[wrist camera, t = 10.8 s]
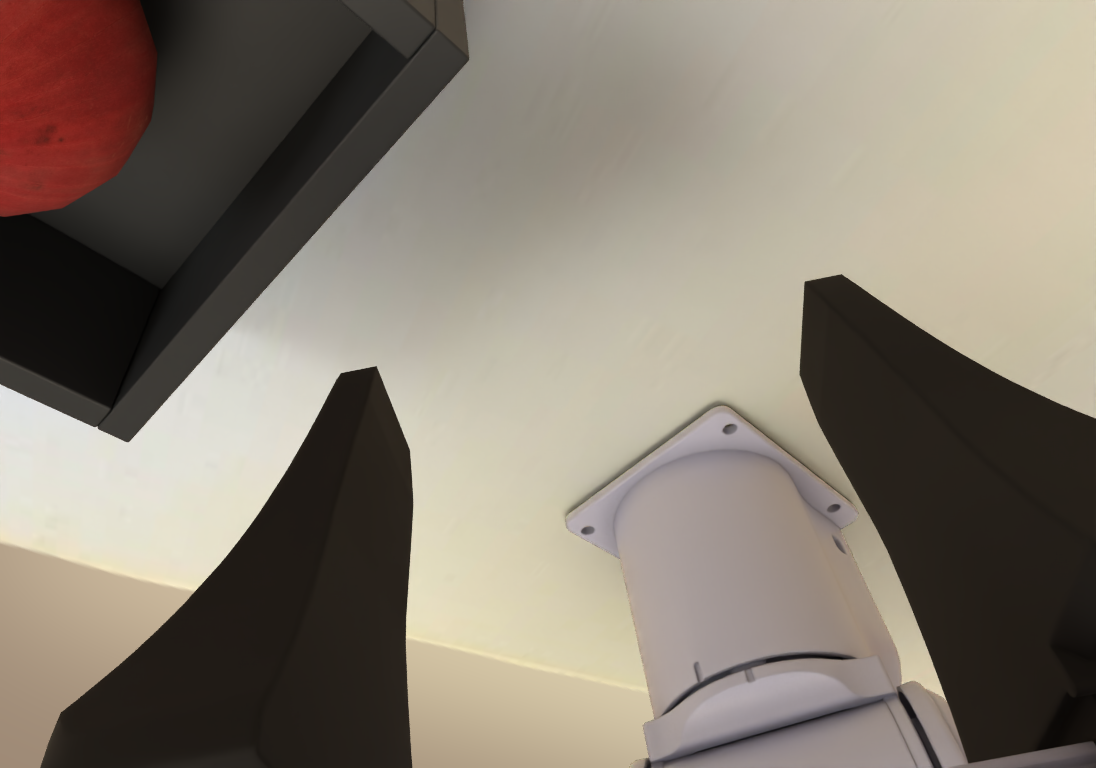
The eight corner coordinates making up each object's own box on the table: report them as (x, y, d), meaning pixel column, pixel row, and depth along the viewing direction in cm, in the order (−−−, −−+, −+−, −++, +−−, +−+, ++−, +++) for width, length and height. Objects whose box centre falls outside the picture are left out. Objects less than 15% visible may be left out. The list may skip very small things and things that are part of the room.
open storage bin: (460, -29, 19) (471, 59, 15) (178, 309, 25) (128, 443, 20) (-164, -634, 13) (-449, -772, 9) (-371, 0, 18) (-613, 107, 14)
